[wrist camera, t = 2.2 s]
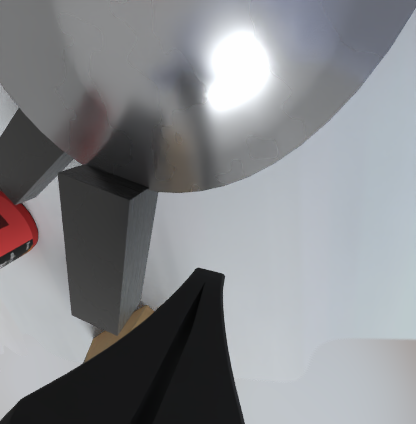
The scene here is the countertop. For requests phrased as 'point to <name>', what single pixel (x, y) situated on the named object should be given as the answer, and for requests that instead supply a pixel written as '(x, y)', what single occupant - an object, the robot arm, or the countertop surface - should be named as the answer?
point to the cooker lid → (174, 107)
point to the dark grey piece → (27, 159)
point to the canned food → (15, 231)
